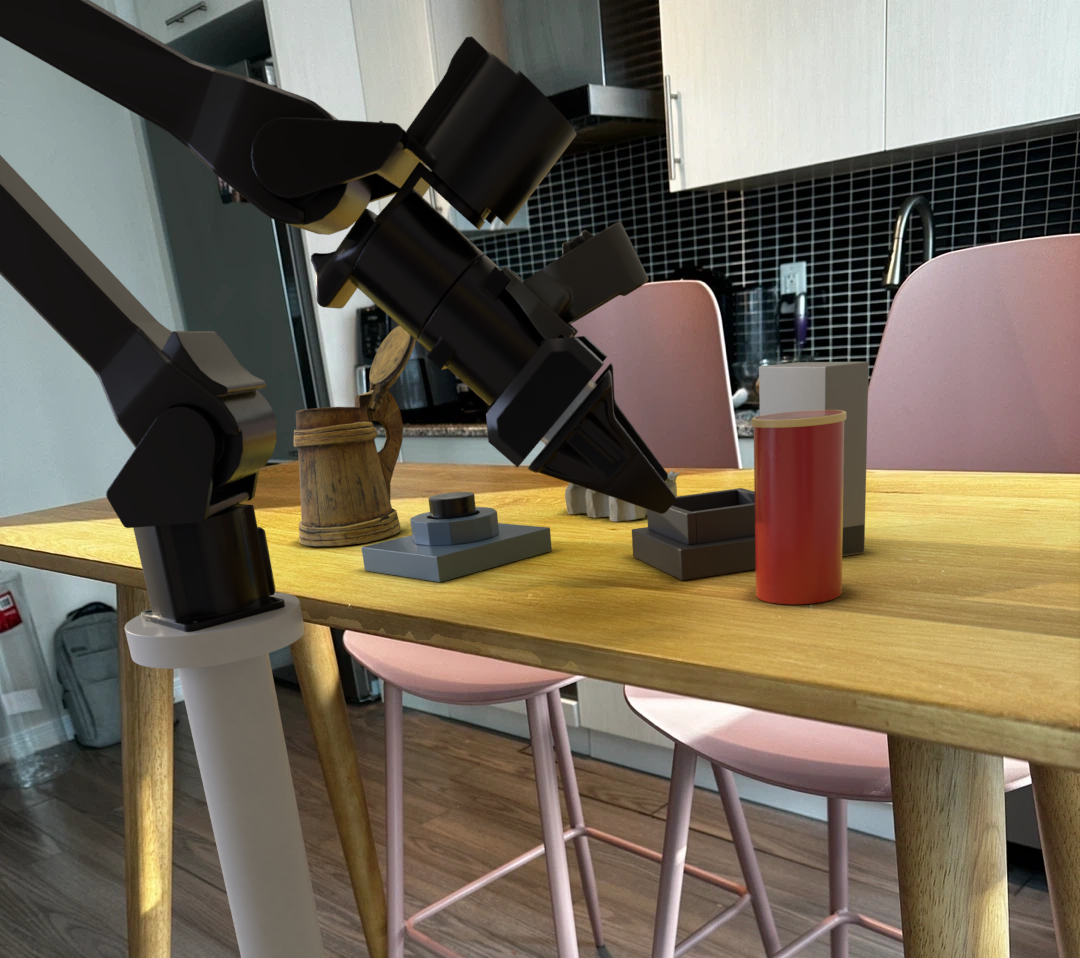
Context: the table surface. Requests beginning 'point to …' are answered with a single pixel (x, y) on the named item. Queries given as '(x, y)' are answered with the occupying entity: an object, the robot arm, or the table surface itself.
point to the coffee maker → (729, 515)
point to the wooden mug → (353, 458)
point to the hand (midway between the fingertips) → (666, 493)
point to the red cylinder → (799, 505)
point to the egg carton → (607, 502)
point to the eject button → (452, 505)
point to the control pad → (455, 546)
